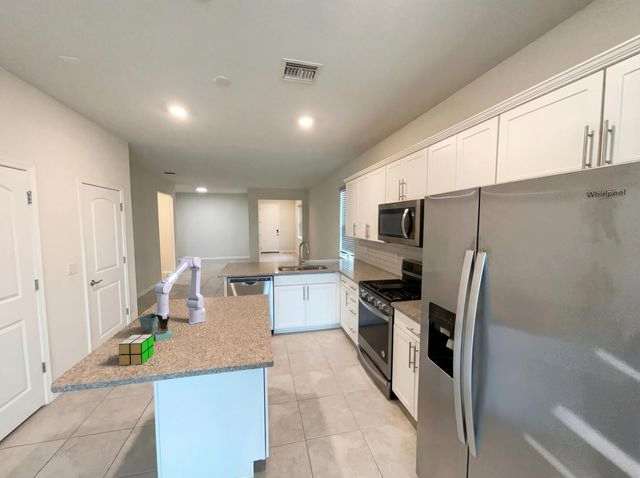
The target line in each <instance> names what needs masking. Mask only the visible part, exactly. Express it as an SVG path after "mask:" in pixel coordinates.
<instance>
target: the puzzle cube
mask: <svg viewBox="0 0 640 478" xmlns="http://www.w3.org/2000/svg"><path fill="white" fill-rule="evenodd" d="M154 342H155V337H154V334H131V336H129V337H128V338H127V337H126V339H124V340H123V341H121V342H120V343H118V365H119V366H130V365H131V366H132V365H133V364H138V365H143V364H144V363H145V362H146V361H147V360H148V359H150V358H151V357H152V356H153V355H154V354H155V345H154Z"/></svg>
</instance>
